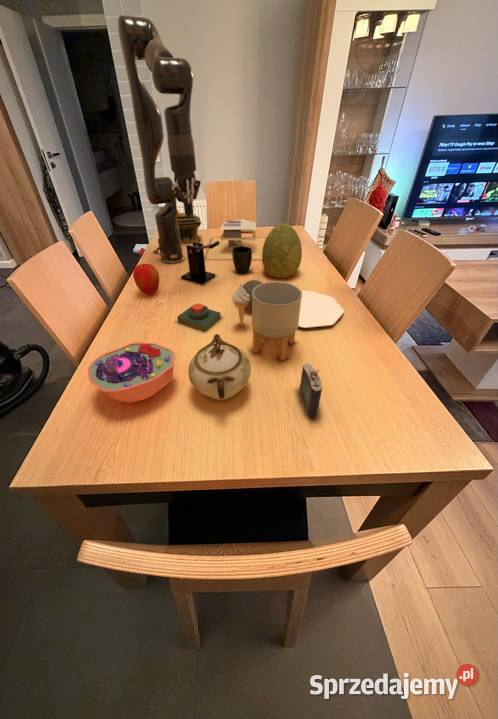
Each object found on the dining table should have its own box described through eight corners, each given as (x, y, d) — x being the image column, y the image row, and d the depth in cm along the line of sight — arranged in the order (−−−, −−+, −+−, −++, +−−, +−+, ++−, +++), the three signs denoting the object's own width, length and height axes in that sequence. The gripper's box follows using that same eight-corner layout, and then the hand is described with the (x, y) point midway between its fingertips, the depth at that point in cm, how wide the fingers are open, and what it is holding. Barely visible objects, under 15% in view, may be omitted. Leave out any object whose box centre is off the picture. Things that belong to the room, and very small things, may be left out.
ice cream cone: (252, 322, 99) (252, 280, 89) (246, 331, 95) (246, 288, 85) (236, 319, 100) (235, 277, 91) (230, 328, 96) (228, 285, 87)
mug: (251, 264, 136) (251, 243, 130) (251, 275, 126) (252, 253, 120) (233, 264, 136) (233, 242, 130) (232, 275, 127) (231, 253, 120)
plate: (292, 289, 117) (293, 285, 116) (351, 306, 107) (352, 303, 106) (259, 315, 102) (259, 311, 101) (323, 338, 92) (323, 334, 91)
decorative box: (201, 236, 165) (197, 196, 152) (203, 242, 158) (199, 201, 145) (164, 239, 161) (156, 198, 149) (164, 245, 154) (156, 203, 141)
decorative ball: (272, 311, 104) (274, 285, 98) (246, 317, 101) (246, 290, 95) (260, 298, 111) (261, 273, 105) (235, 304, 108) (234, 278, 102)
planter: (245, 339, 92) (244, 286, 80) (283, 330, 95) (287, 278, 84) (262, 365, 83) (264, 309, 71) (303, 354, 86) (311, 299, 75)
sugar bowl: (256, 415, 69) (256, 367, 59) (190, 422, 68) (180, 373, 58) (246, 360, 84) (245, 315, 74) (192, 365, 83) (184, 319, 73)
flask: (297, 390, 75) (302, 357, 68) (308, 389, 76) (314, 356, 69) (307, 419, 68) (314, 386, 61) (320, 417, 69) (328, 384, 62)
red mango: (153, 300, 110) (146, 269, 103) (132, 297, 113) (124, 266, 105) (166, 289, 117) (160, 259, 109) (146, 286, 119) (139, 256, 111)
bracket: (215, 276, 126) (212, 243, 117) (202, 285, 120) (198, 250, 111) (194, 271, 130) (190, 238, 121) (181, 279, 124) (175, 245, 115)
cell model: (184, 403, 72) (177, 368, 65) (95, 422, 68) (77, 387, 60) (176, 360, 84) (169, 326, 77) (101, 373, 80) (86, 339, 73)
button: (190, 311, 97) (190, 307, 96) (197, 307, 100) (196, 302, 99) (199, 314, 96) (199, 310, 95) (206, 309, 98) (205, 305, 97)
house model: (269, 259, 140) (271, 232, 132) (205, 259, 140) (203, 232, 132) (267, 238, 162) (268, 214, 155) (212, 238, 163) (210, 213, 155)
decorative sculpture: (271, 262, 137) (273, 216, 124) (305, 269, 131) (311, 221, 118) (254, 276, 126) (255, 226, 113) (291, 284, 120) (296, 233, 107)
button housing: (178, 322, 99) (176, 311, 97) (194, 309, 105) (193, 299, 103) (205, 331, 95) (203, 320, 93) (220, 318, 101) (220, 307, 99)
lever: (220, 245, 113) (218, 239, 112) (213, 250, 110) (210, 243, 109) (197, 250, 120) (195, 244, 119) (189, 254, 117) (187, 248, 116)
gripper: (185, 149, 95) (192, 209, 106) (156, 154, 86) (167, 218, 97) (205, 151, 92) (210, 212, 103) (177, 155, 83) (185, 221, 94)
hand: (189, 215), depth 100 cm, fingers closed
